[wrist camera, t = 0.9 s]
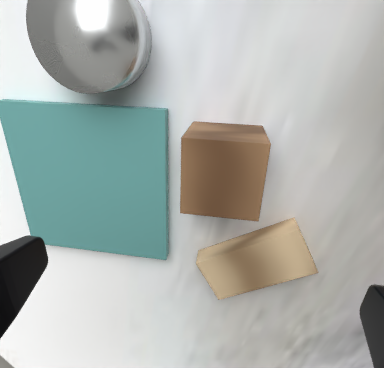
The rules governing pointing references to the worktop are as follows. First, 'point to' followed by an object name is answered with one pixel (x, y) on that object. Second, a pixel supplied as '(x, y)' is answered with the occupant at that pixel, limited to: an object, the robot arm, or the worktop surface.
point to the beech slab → (256, 260)
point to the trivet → (91, 174)
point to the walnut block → (223, 170)
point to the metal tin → (90, 42)
